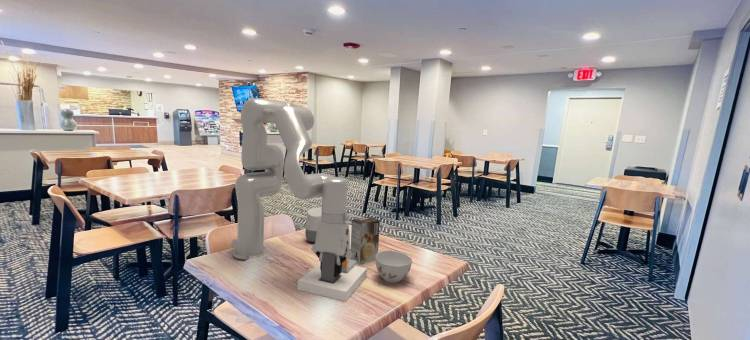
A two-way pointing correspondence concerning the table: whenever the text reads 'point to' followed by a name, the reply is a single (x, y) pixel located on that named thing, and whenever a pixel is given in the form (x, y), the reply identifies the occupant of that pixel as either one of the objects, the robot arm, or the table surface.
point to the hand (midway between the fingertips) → (330, 273)
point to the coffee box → (364, 239)
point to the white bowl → (393, 265)
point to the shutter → (348, 265)
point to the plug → (328, 268)
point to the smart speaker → (312, 223)
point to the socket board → (333, 290)
